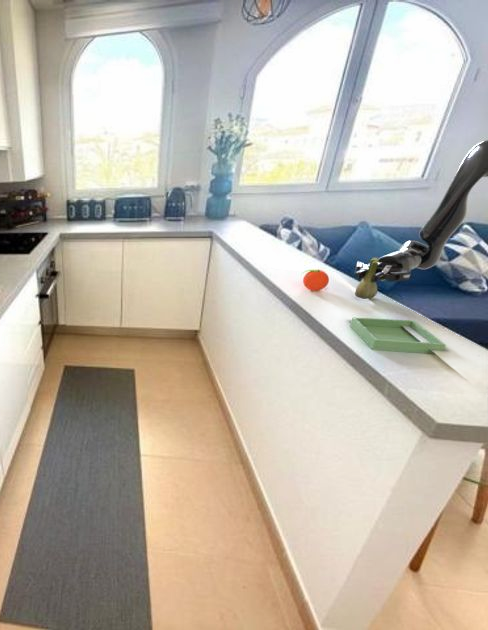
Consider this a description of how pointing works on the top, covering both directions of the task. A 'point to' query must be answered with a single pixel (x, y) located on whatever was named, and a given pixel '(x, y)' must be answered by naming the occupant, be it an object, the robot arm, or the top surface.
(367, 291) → the fennel bulb
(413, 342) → the green tray
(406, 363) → the top surface
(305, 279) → the tomato
